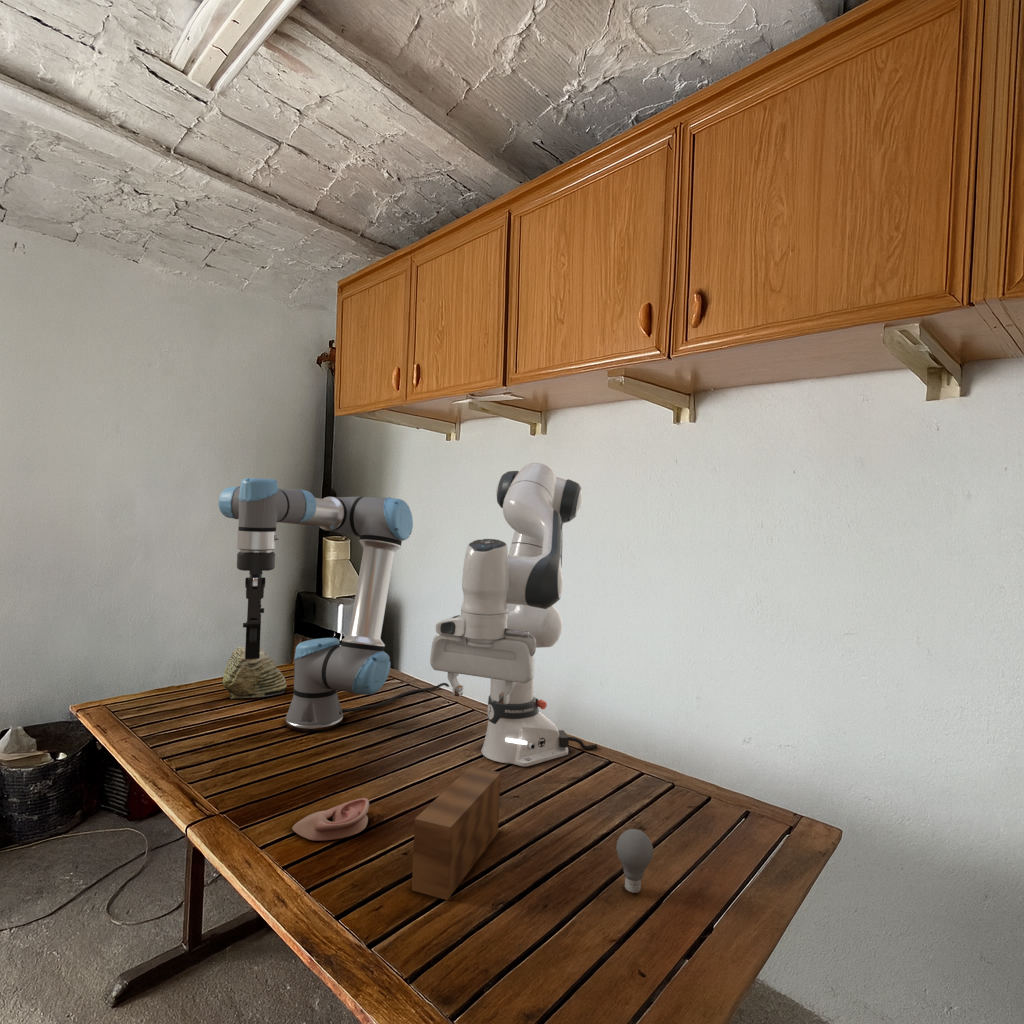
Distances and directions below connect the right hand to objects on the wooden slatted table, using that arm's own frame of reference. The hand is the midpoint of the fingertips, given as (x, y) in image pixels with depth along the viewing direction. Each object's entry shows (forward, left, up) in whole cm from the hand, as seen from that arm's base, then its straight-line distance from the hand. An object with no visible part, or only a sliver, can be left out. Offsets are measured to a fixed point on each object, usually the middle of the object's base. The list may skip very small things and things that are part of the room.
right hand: (480, 699), depth 119 cm
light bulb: (-18, +25, -27) cm, 41 cm away
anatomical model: (+24, -15, -27) cm, 39 cm away
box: (+5, +5, -27) cm, 28 cm away
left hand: (+37, -37, +3) cm, 52 cm away
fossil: (+29, -104, -27) cm, 111 cm away
